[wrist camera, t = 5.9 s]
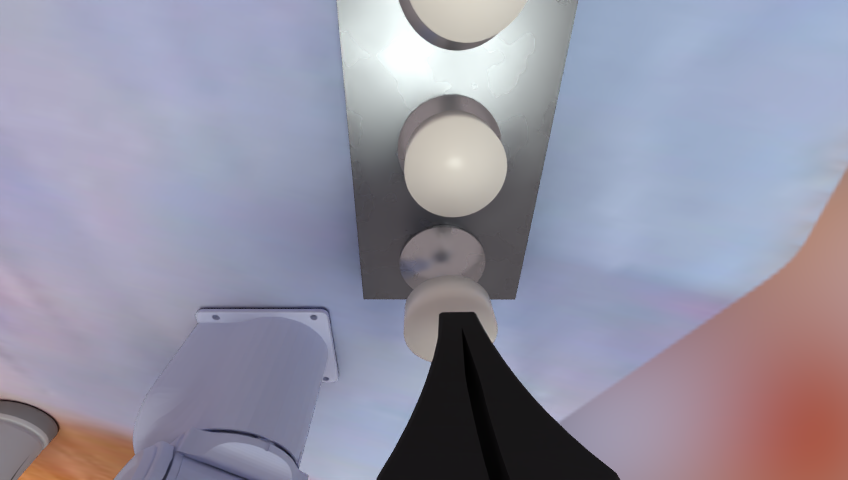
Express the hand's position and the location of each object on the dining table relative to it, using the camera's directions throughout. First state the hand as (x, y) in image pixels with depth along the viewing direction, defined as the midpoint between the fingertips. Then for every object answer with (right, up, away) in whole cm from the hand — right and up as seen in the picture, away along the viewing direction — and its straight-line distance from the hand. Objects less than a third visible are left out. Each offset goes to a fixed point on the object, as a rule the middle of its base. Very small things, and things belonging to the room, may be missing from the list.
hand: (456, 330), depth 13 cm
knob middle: (0, +8, +4) cm, 9 cm away
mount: (0, +9, +6) cm, 11 cm away
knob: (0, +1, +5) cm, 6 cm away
